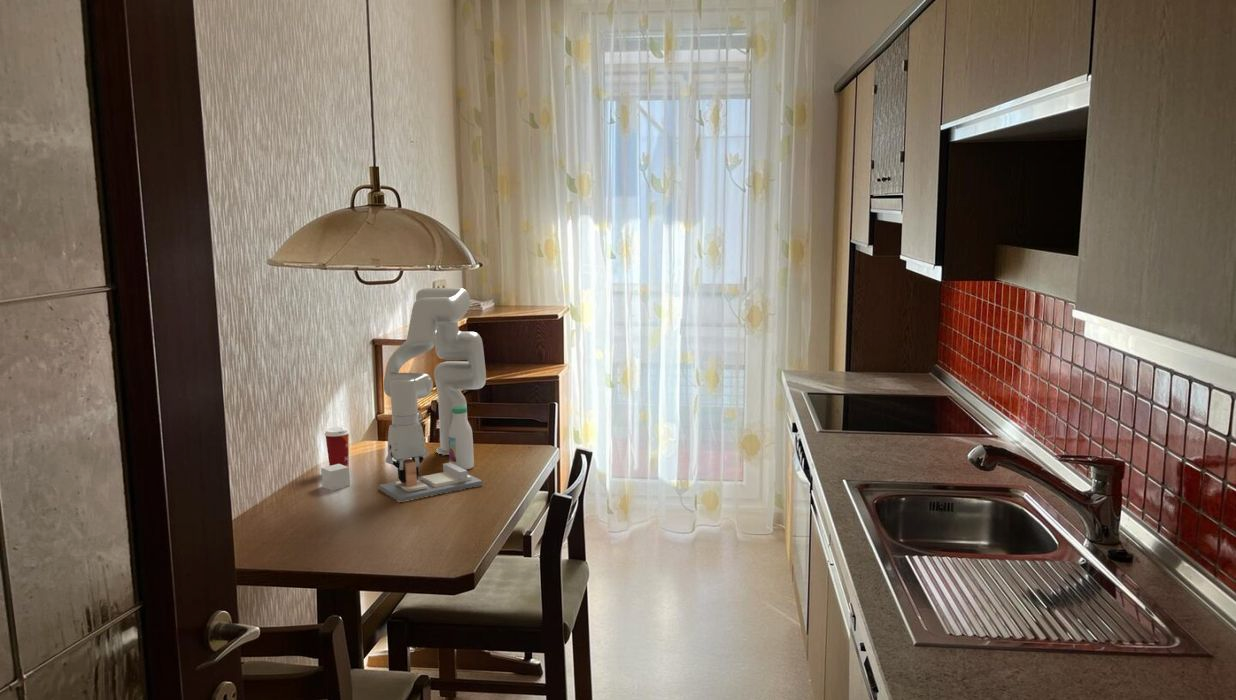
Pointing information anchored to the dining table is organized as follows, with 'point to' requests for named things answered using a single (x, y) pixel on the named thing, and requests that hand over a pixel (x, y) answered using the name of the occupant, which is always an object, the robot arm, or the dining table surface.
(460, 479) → the holder
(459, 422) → the milk bottle
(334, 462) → the paper cup
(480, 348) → the robot arm
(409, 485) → the stub
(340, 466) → the white cube
